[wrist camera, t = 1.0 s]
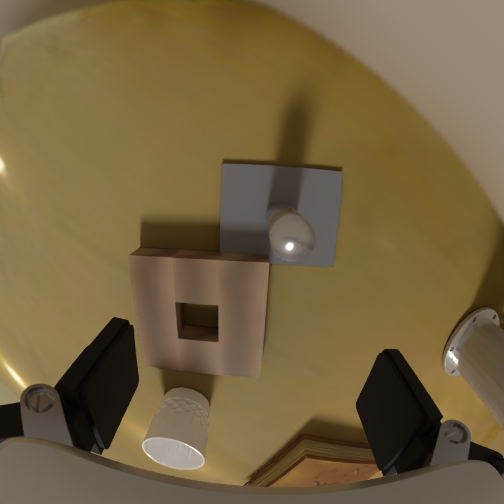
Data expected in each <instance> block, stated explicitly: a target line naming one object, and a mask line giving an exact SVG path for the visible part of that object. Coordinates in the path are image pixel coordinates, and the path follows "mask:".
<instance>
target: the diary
mask: <svg viewBox="0 0 504 504" xmlns="http://www.w3.org/2000/svg"><path fill="white" fill-rule="evenodd" d="M378 471H379V469H378V468H377V465H376V462H375V459H374V456H373V453H372V450H371V447H370V445H369V444H362V443H353V442H346V441H339V440H332V439H326V438H320V437H315V436H310V435H304V434H303V435H302V436H300V437H299V438H298V439H297V440H296V441H295V442H294V443H293V444H292V445H291V446H290V447H289V448H288V449H287V450H286V451H284V452H283V453H282V454H281V455H280V456H279V457H278V458H277V459H275V460H274V461H273V462H272V463H271V464H270V465H268V466H267V467H266V468H265V469H264V470H263V471H261V472H260V473H259V474H258V475H256V476H255V477H254V478H253V479H251V480H250V481H249V482H247V483H246V484H245V485H244V486H251V487H310V486H324V485H335V484H344V483H352V482H358V481H365V480H367V479H368V478H370V477H371V476H373V475H374V474H375V473H377V472H378Z"/></svg>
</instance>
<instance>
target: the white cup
mask: <svg viewBox="0 0 504 504" xmlns="http://www.w3.org/2000/svg"><path fill="white" fill-rule="evenodd" d="M209 412H210V405H209V402H208V400H207V399H206V398H205V397H204V396H203V395H202V394H201V393H199V392H197V391H195V390H193V389H189V388H184V387H179V388H172V389H171V390H169V391H168V392H167V393H166V394H165V397H164V399H163V401H162V403H161V405H160V407H159V408H158V410H157V412H156V414H155V416H154V418H153V420H152V423H151V425H150V427H149V429H148V432H147V434H146V436H145V438H144V441H143V443H142V448H143V450H144V452H145V453H146V454H147V455H148V456H149V457H150V458H151V459H153V460H154V461H156V462H158V463H160V464H162V465H165V466H167V467H171V468H175V469H180V470H193V469H197V468H200V467H201V466H203V465H204V463H205V455H206V446H207V438H208V427H209Z"/></svg>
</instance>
